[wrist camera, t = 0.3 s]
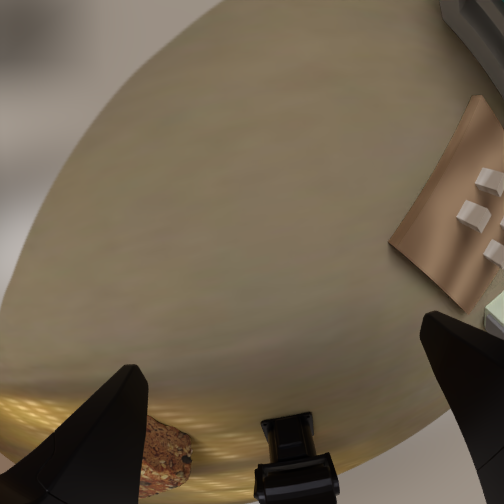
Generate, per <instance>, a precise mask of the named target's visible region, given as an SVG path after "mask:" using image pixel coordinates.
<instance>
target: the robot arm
mask: <svg viewBox="0 0 504 504" xmlns="http://www.w3.org/2000/svg"><path fill="white" fill-rule="evenodd" d="M420 340H421V343H422V345H423V347H424V350H425V352H426V355H427V357H428V360H429V362H430V365H431V367H432V370H433V372H434V375H435V377H436V379H437V381H438V383H439V385H440V387H441V389H442V391H443V393H444V395H445V397H446V399H447V401H448V403H449V406H450V408H451V410H452V412H453V414H454V416H455V419H456V421H457V423H458V425H459V428H460V430H461V432H462V435H463V437H464V439H465V442H466V444H467V447H468V449H469V452H470V455H471V457H472V460H473V463H474V465H475V468H476V470H477V474H478V477H479V480H480V483H481V486H482V489H483V493H484V496H485V499H486V503H487V504H504V340H503V339H501V338H499V337H496V336H494V335H492V334H489V333H487V332H485V331H483V330H480V329H478V328H476V327H473V326H471V325H469V324H466V323H464V322H462V321H459V320H457V319H455V318H452V317H450V316H448V315H445V314H443V313H441V312H438V311H432V312H429V313H426V314H425V315H424V317H423V321H422V325H421V330H420ZM147 408H148V382H147V380H146V379H145V377H144V375H143V373H142V372H141V370H140V368H139V367H138V366H137V365H135V364H127V365H124V366H123V367H121V368H120V369H119V370H118V371H117V372H116V373H115V374H114V375H113V376H112V377H111V378H110V379H109V380H108V381H107V382H106V383H105V384H103V385H102V386H101V387H100V388H99V389H98V390H97V391H96V392H95V393H94V394H93V395H92V396H91V397H90V398H89V399H88V400H87V401H86V402H84V403H83V404H82V405H81V406H80V407H79V408H78V409H77V410H76V411H75V412H74V413H73V414H72V415H71V416H70V417H69V418H68V419H67V420H65V421H64V422H63V423H62V424H61V425H60V426H59V427H58V428H57V429H56V430H55V433H54V432H53V433H52V434H51V435H50V436H49V437H48V438H47V439H45V440H44V441H43V442H42V443H41V444H40V445H39V446H38V447H37V448H35V449H34V450H33V451H32V452H31V453H29V454H28V455H27V456H26V457H24V458H23V459H22V460H20V461H19V462H18V463H17V464H15V465H14V466H13V467H11V468H10V469H9V470H7V471H6V472H4V473H3V474H0V504H138V499H139V488H140V477H141V468H142V460H143V452H144V444H145V437H146V429H147ZM261 427H262V429H263V432H264V434H265V437H266V439H267V442H268V444H269V453H270V463H269V464H258V468H257V469H255V486H254V498H256V499H257V500H258V501H259V503H260V504H337V500H336V496H337V495H339V493H340V489H339V482H338V477H337V474H336V471H335V468H334V465H333V462H332V459H331V456H330V453H329V452H327V453H325V454H321V455H316V450H315V446H314V441H313V437H312V436H313V435H314V430H313V420H312V413H311V412H306V413H302V414H297V415H292V416H287V417H281V418H276V419H270V420H264V421H261Z"/></svg>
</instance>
